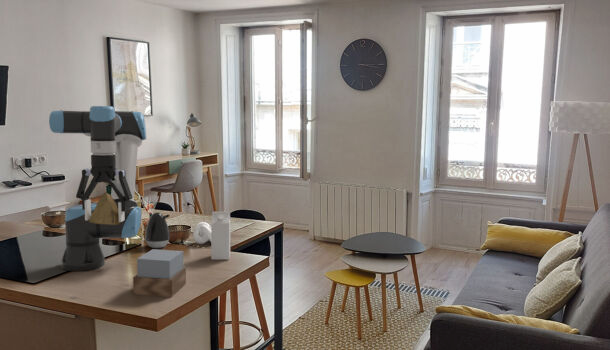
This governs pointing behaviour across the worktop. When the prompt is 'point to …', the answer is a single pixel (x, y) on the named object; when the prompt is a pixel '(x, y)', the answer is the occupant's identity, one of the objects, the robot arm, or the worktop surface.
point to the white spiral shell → (202, 233)
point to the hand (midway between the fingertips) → (104, 220)
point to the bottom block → (159, 285)
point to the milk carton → (220, 236)
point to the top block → (160, 264)
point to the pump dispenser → (157, 231)
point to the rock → (105, 211)
